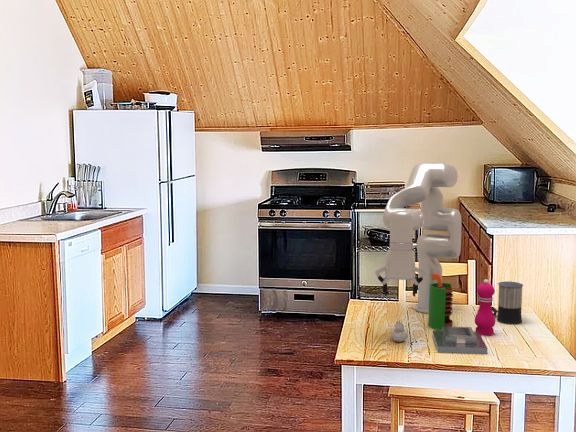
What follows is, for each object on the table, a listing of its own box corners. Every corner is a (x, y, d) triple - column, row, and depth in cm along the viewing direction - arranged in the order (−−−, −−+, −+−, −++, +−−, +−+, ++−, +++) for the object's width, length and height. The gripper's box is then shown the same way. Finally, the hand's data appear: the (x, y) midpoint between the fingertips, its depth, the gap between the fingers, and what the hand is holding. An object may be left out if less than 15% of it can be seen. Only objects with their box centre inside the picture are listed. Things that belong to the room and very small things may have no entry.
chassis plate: (432, 335, 228) (432, 323, 227) (478, 337, 225) (478, 324, 225) (437, 352, 210) (437, 339, 209) (487, 354, 208) (487, 340, 207)
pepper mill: (470, 333, 230) (472, 279, 227) (479, 328, 235) (481, 276, 233) (489, 337, 225) (491, 282, 222) (498, 332, 230) (500, 279, 228)
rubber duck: (388, 342, 221) (389, 319, 220) (395, 337, 226) (395, 315, 225) (403, 344, 218) (404, 322, 217) (409, 339, 224) (410, 317, 223)
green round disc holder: (453, 330, 233) (454, 277, 231) (428, 329, 235) (429, 276, 232) (451, 323, 243) (453, 271, 240) (427, 321, 245) (429, 271, 242)
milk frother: (524, 325, 239) (525, 287, 238) (481, 323, 242) (482, 285, 240) (516, 315, 253) (518, 278, 251) (476, 313, 256) (477, 277, 254)
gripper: (425, 245, 221) (424, 293, 223) (375, 244, 223) (374, 292, 225) (427, 249, 213) (426, 298, 215) (375, 248, 216) (374, 297, 217)
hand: (399, 295), depth 220 cm, fingers open, 9 cm apart
